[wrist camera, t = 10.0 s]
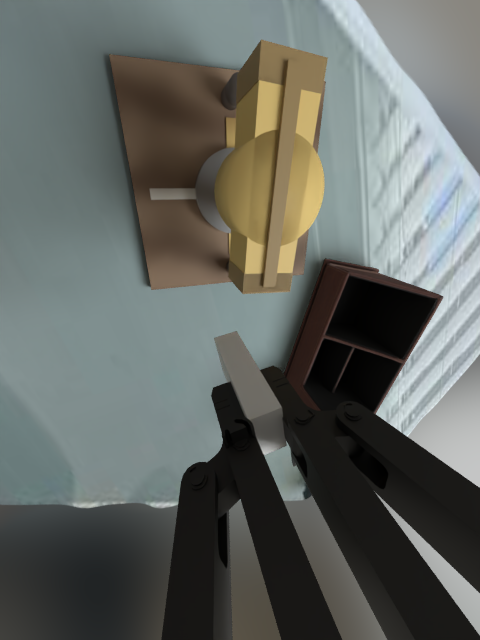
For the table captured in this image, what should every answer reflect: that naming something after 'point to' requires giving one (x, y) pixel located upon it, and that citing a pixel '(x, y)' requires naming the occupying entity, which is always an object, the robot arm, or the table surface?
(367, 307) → the desk organizer
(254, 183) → the yellow block with ball
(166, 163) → the base
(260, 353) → the table surface
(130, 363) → the table surface
